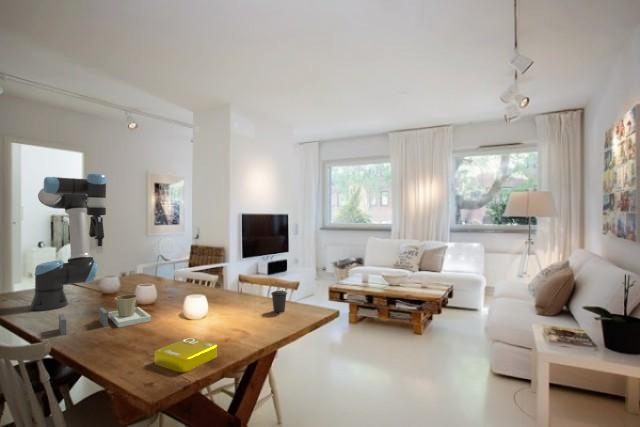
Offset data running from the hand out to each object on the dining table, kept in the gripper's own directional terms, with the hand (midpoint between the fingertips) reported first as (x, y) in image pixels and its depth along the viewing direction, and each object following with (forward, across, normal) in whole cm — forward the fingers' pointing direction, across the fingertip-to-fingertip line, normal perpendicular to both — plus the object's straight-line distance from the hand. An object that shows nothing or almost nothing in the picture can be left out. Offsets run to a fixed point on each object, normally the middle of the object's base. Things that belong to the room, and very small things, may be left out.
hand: (96, 251), depth 162 cm
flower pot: (+30, +12, +10) cm, 33 cm away
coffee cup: (+30, +53, +68) cm, 91 cm away
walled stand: (+30, +16, -7) cm, 35 cm away
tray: (+30, +16, +10) cm, 36 cm away
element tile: (+29, +77, +12) cm, 84 cm away
